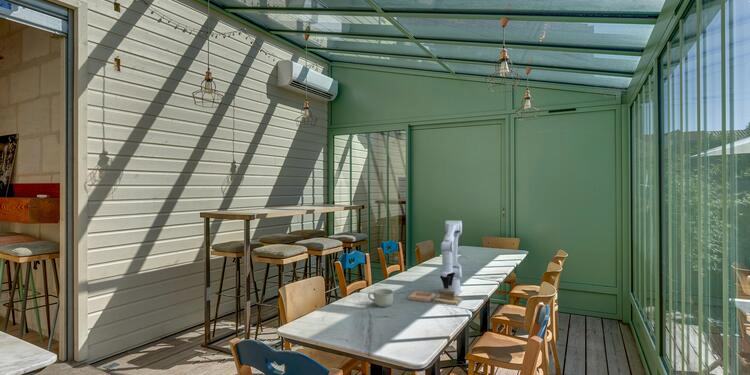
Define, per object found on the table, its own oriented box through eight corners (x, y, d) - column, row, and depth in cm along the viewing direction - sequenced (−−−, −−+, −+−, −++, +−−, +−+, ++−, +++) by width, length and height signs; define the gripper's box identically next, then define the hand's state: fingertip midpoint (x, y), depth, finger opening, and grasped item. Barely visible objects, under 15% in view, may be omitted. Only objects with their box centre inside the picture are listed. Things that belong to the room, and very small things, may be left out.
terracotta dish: (415, 294, 235) (415, 291, 235) (434, 296, 230) (434, 293, 230) (408, 299, 224) (408, 296, 224) (428, 302, 219) (428, 298, 219)
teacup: (394, 303, 219) (394, 288, 219) (393, 308, 208) (392, 293, 208) (369, 302, 220) (369, 288, 220) (367, 308, 209) (366, 293, 209)
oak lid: (439, 296, 229) (439, 287, 229) (461, 298, 224) (461, 289, 224) (432, 301, 217) (432, 293, 218) (456, 304, 212) (455, 295, 212)
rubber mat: (439, 296, 230) (439, 295, 230) (463, 299, 224) (463, 298, 224) (432, 303, 217) (432, 302, 217) (457, 305, 211) (457, 304, 211)
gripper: (443, 260, 229) (444, 283, 229) (436, 264, 216) (437, 289, 216) (455, 261, 226) (456, 284, 226) (449, 265, 213) (450, 290, 213)
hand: (447, 287), depth 221 cm, fingers open, 7 cm apart
